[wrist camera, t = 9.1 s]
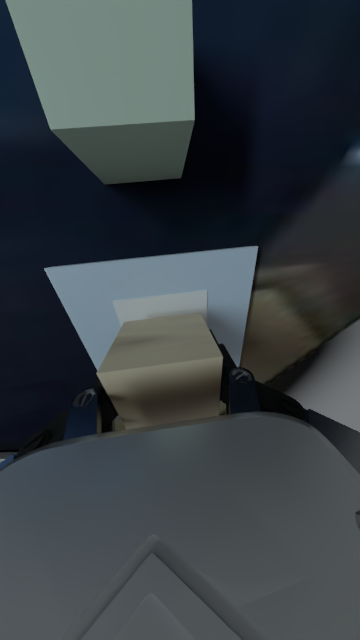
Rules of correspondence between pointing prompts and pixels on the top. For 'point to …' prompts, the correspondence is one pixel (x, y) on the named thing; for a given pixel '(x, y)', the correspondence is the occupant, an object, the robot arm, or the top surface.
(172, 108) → the sage block
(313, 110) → the top surface
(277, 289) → the top surface
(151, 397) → the birch block
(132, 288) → the board
